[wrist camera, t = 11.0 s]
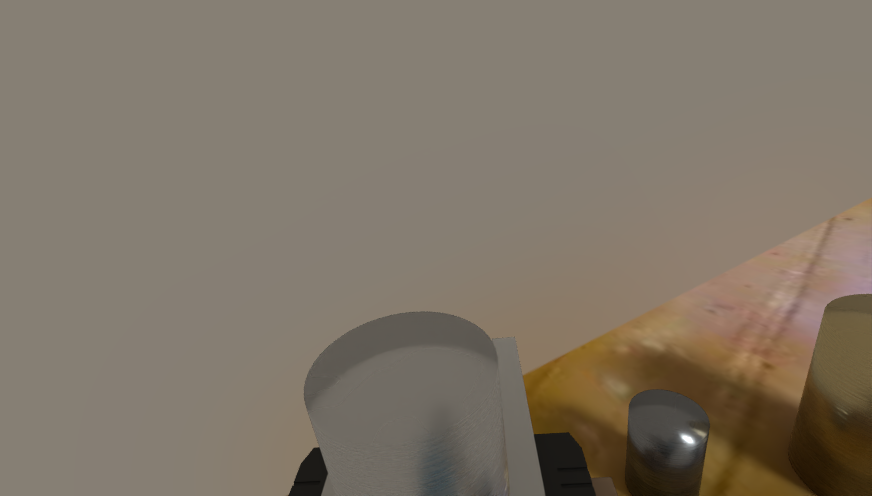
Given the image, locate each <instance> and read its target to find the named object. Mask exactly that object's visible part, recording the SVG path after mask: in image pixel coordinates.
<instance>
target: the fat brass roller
mask: <svg viewBox="0 0 872 496" xmlns="http://www.w3.org/2000/svg"><path fill="white" fill-rule="evenodd" d="M788 455H789V460H790V462H791V465H792V467H793V468H794V470H795V472H796V473H797V475H798V476H799V477H800V478H801V480H802V481H803V482H804V483H805V484H806V485H807V486H808V487H809V488H810V489H811V490H812V491H813V492H815V493H816V494H817V495H818V496H872V294H857V295H849V296H844V297H841V298H838V299H835V300H833V301H831V302H830V303H829V304H827V306H826V307H825V310H824V314H823V318H822V322H821V325H820V329H819V333H818V337H817V340H816V344H815V348H814V352H813V356H812V359H811V363H810V367H809V371H808V375H807V378H806V382H805V386H804V390H803V394H802V397H801V401H800V405H799V409H798V413H797V416H796V420H795V424H794V428H793V432H792V435H791V439H790V443H789V447H788Z"/></svg>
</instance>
